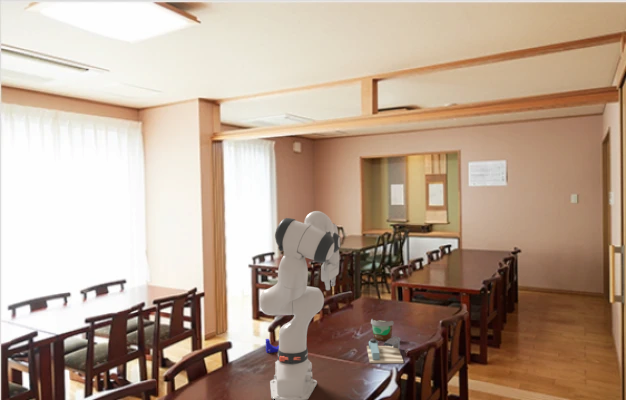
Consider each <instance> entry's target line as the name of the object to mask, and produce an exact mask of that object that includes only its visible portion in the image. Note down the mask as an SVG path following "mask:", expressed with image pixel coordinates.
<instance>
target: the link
mask: <svg viewBox="0 0 626 400" xmlns="http://www.w3.org/2000/svg"><path fill="white" fill-rule="evenodd" d="M368 346H369V349H371V353H372V358H373V360H380V357H379V349H378V346H379V341H378V340H376V342H371V341H370V340H369V341H368Z"/></svg>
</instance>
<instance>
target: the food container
mask: <svg viewBox="0 0 626 400" xmlns="http://www.w3.org/2000/svg"><path fill="white" fill-rule="evenodd" d="M370 324H371V327H372V333H373V338H374V339H376V341H378V342H386V341H387V340H389V339H390V338H392V337H393V336H392V334H393V326H394V325H395V323H394V321H393V320H390V321H386V320H383V319H382V320H381V319H373V318H371V320H370Z"/></svg>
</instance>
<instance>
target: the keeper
mask: <svg viewBox="0 0 626 400" xmlns="http://www.w3.org/2000/svg"><path fill="white" fill-rule="evenodd" d="M383 342H384V343H383V346H391V347H392V346H393V348H399V350H401V343H400V342H401V337H400V336H392V337H391V338H390V339H389V340H387V341H383Z"/></svg>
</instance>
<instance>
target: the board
mask: <svg viewBox="0 0 626 400" xmlns="http://www.w3.org/2000/svg"><path fill="white" fill-rule="evenodd" d="M369 341H371V342H376V341H377V340H376V339H374V337H372V338H370V340H369ZM378 349H379V357H380V360H373V358H372V353H371V349H369V345H366V351H367V356H368V361H369V364H404V359H403V356H402V354H401V352H400V349H399V348H393V346H392V347H391V346H386V345H378Z"/></svg>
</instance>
